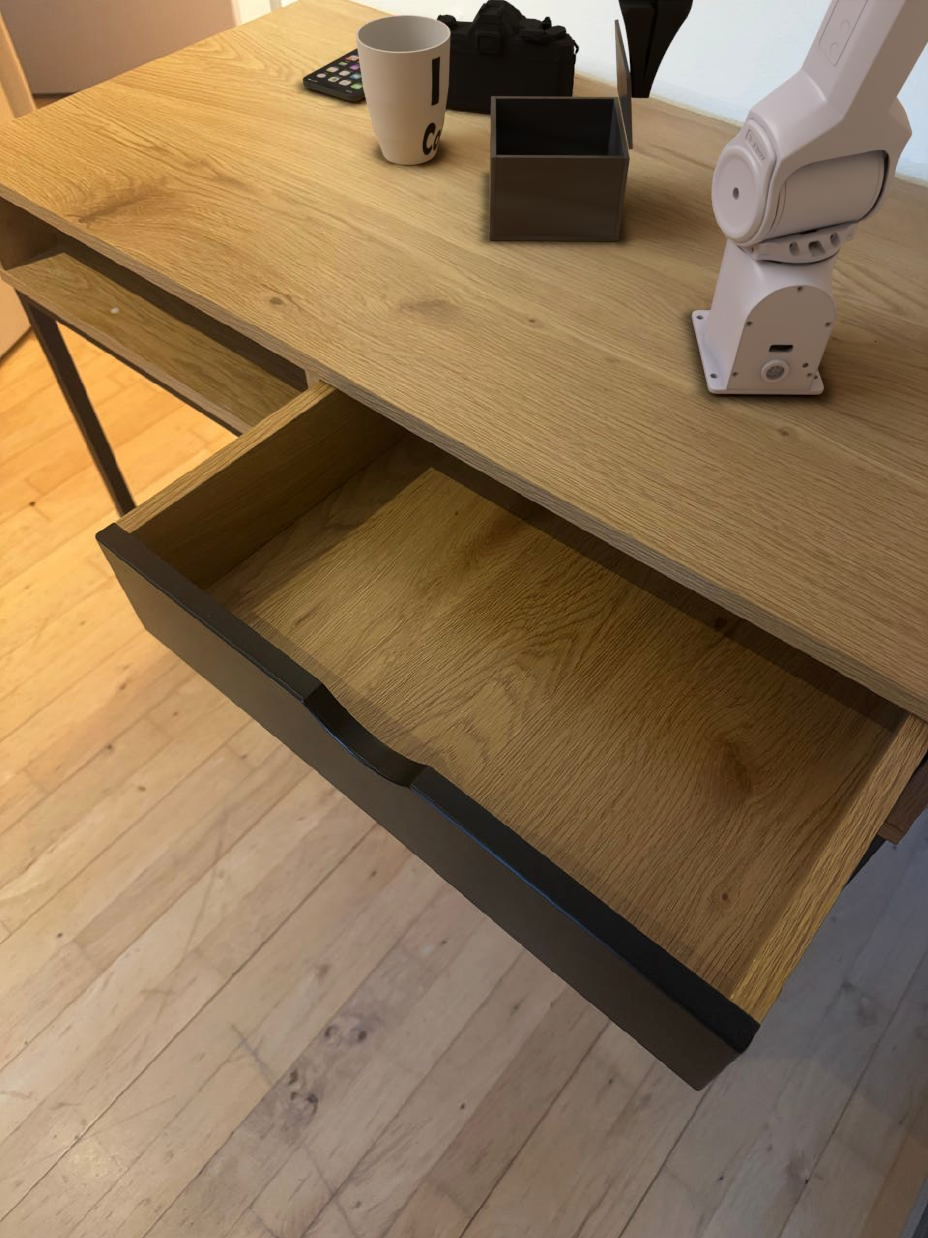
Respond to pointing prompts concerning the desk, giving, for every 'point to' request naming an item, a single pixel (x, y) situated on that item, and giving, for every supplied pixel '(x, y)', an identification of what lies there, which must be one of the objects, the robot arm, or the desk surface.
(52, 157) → the desk surface
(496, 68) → the film camera
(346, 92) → the smartphone
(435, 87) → the cup
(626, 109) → the flap
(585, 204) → the carton
